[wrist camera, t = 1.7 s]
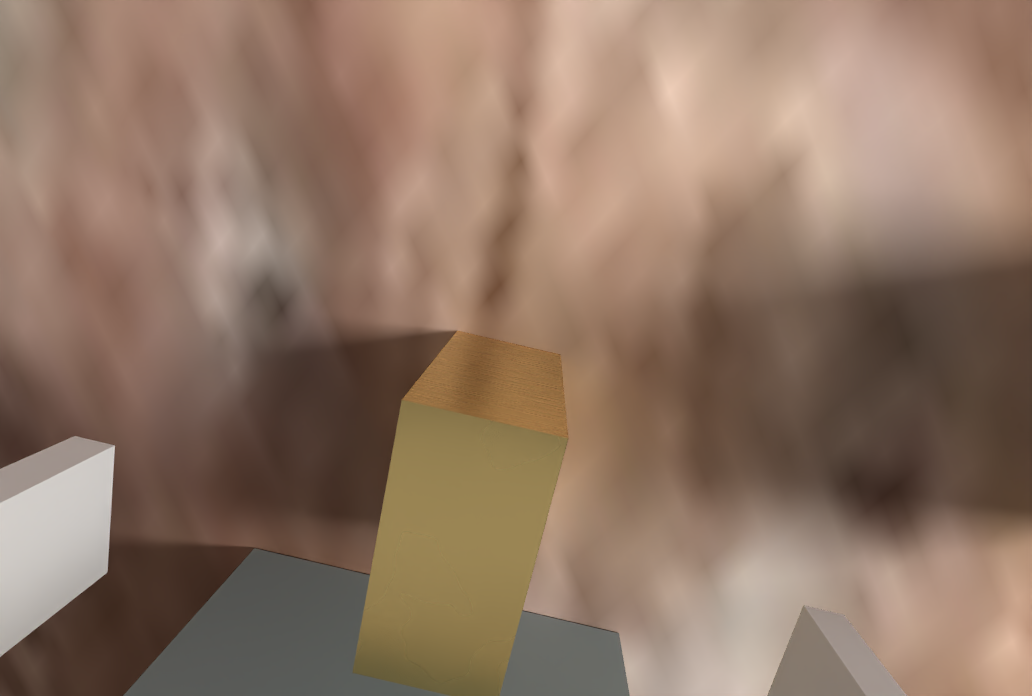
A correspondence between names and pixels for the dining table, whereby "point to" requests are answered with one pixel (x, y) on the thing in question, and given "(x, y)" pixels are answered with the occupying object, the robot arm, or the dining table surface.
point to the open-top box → (345, 642)
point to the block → (463, 516)
